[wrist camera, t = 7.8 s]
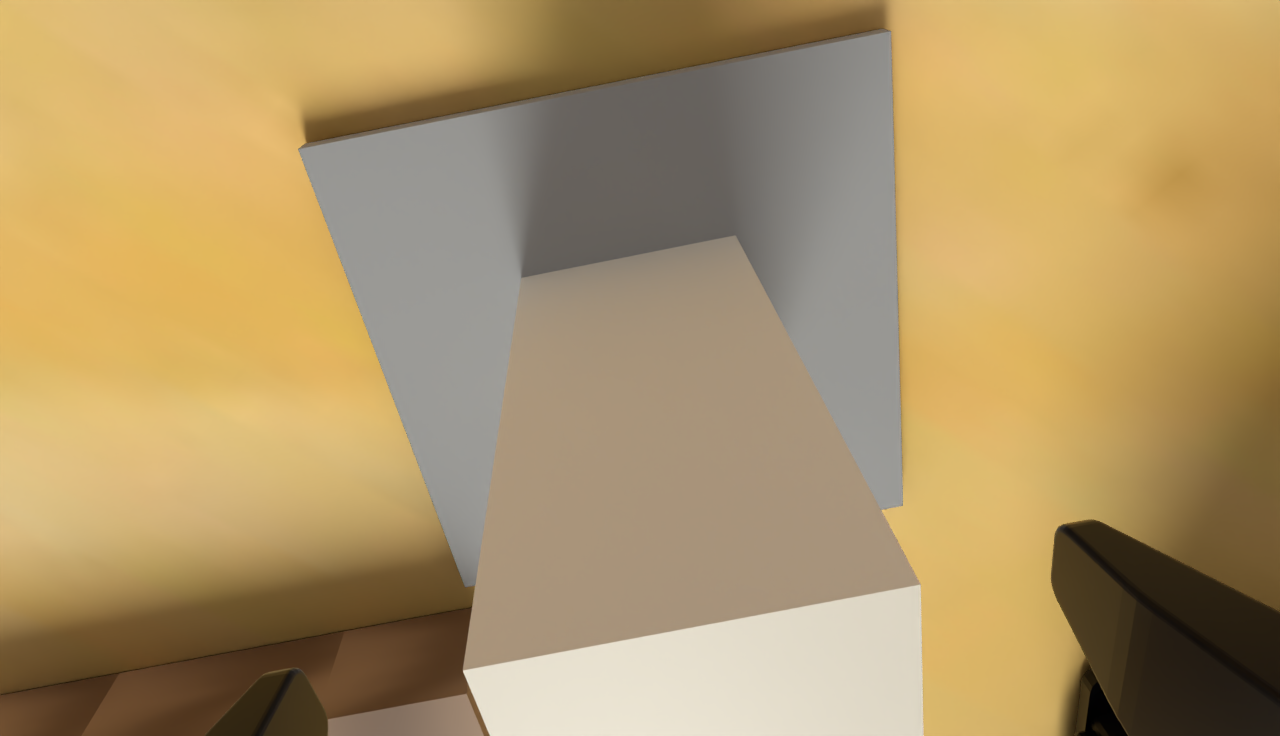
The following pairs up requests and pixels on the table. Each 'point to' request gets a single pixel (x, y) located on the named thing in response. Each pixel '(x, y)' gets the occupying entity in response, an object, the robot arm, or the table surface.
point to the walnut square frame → (334, 664)
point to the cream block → (681, 523)
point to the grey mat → (625, 236)
